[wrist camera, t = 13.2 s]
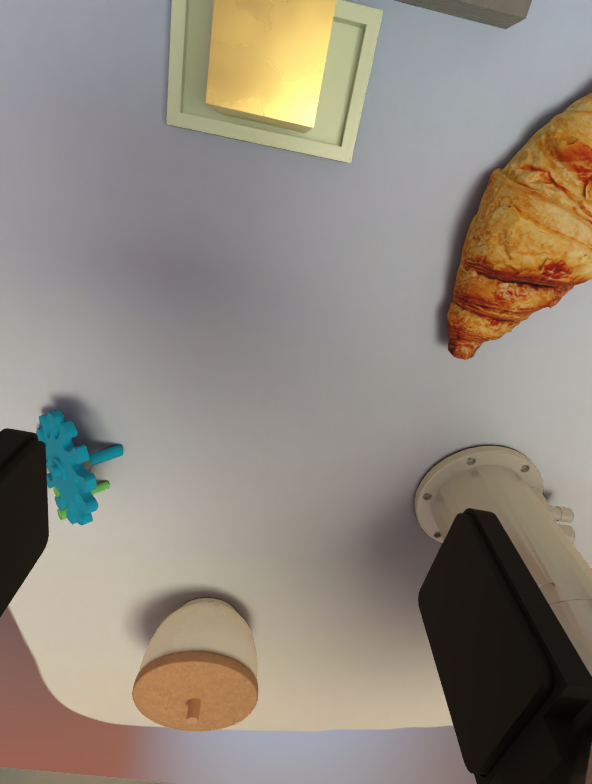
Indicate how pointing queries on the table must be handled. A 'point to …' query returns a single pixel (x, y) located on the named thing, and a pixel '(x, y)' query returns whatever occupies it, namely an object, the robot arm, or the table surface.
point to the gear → (71, 468)
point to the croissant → (527, 234)
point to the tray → (326, 139)
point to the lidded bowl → (199, 669)
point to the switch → (480, 10)
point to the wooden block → (269, 60)
